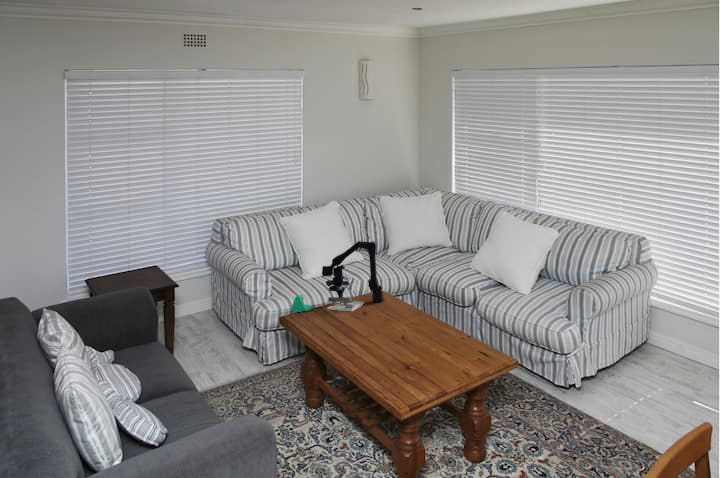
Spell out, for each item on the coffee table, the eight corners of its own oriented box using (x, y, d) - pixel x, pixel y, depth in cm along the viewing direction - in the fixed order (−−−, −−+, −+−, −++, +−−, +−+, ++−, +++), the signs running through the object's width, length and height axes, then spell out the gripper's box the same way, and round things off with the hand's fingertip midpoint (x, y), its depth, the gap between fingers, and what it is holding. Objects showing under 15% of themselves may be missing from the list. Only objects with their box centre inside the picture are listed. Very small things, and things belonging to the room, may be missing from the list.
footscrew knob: (354, 302, 391) (353, 296, 390) (350, 305, 386) (349, 299, 385) (331, 302, 398) (330, 296, 397) (327, 304, 393) (326, 298, 392)
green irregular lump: (313, 309, 390) (312, 294, 388) (305, 312, 384) (304, 296, 382) (299, 308, 397) (298, 292, 395) (291, 311, 391) (290, 295, 389)
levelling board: (364, 303, 392) (363, 297, 392) (352, 311, 376) (351, 304, 376) (339, 303, 400) (339, 296, 399) (326, 310, 384) (326, 303, 383)
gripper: (334, 272, 408) (336, 294, 411) (320, 278, 392) (323, 301, 394) (348, 272, 404) (350, 295, 406) (336, 278, 387) (338, 302, 389)
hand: (340, 298), depth 399 cm, fingers closed
